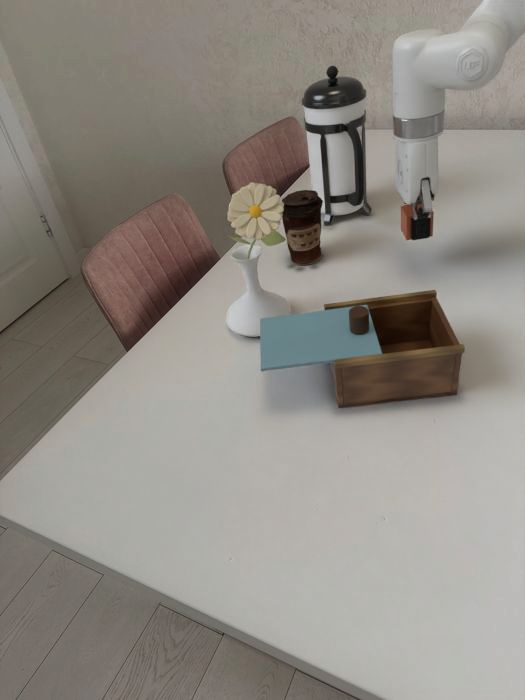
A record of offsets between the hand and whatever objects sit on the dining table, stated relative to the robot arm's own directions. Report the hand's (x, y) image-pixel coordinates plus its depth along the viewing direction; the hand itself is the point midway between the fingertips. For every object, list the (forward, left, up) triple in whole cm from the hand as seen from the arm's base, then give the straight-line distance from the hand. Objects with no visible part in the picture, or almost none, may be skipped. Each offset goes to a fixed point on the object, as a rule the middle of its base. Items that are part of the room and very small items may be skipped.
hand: (416, 230), depth 88 cm
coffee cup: (+20, -8, -7) cm, 23 cm away
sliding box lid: (+20, +28, +1) cm, 34 cm away
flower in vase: (+29, +12, -7) cm, 32 cm away
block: (0, 0, 0) cm, 0 cm away
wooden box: (+11, +28, -7) cm, 30 cm away
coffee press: (+10, -26, -7) cm, 29 cm away
